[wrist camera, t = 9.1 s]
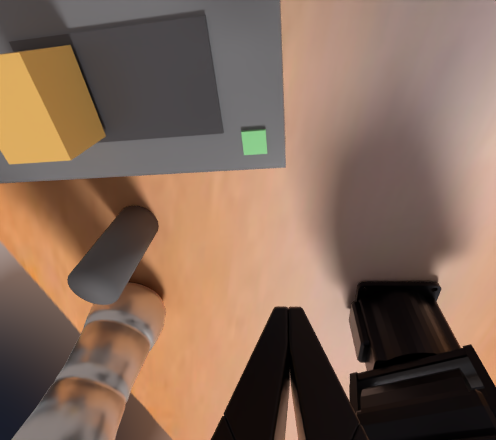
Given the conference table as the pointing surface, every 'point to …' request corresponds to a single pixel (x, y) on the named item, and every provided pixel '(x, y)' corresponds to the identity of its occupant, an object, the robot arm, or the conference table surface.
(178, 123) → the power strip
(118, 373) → the plastic bottle
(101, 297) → the cylinder
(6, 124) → the toggle amber
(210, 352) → the conference table surface
